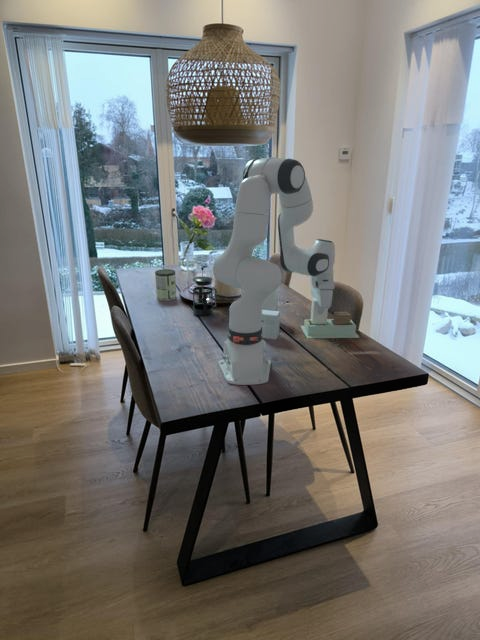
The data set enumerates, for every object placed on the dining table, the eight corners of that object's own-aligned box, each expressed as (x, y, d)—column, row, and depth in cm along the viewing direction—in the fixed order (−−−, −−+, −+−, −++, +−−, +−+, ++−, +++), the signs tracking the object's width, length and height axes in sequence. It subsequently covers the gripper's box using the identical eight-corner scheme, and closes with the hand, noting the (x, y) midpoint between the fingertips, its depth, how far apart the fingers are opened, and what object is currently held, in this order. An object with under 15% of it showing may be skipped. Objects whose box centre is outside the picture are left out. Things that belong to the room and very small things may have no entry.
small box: (279, 334, 183) (280, 311, 179) (276, 339, 178) (277, 315, 174) (260, 332, 185) (261, 309, 181) (257, 337, 180) (258, 313, 176)
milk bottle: (275, 324, 194) (277, 281, 187) (258, 323, 195) (259, 279, 189) (277, 318, 201) (279, 276, 194) (260, 317, 203) (262, 275, 196)
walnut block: (349, 332, 183) (351, 315, 180) (335, 333, 183) (336, 315, 180) (346, 329, 187) (348, 311, 184) (332, 329, 187) (334, 311, 184)
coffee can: (160, 294, 234) (158, 268, 229) (178, 295, 233) (177, 269, 228) (153, 300, 225) (152, 273, 220) (173, 301, 223) (172, 274, 218)
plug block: (326, 323, 181) (328, 300, 178) (312, 323, 181) (314, 300, 177) (324, 320, 185) (326, 297, 181) (310, 320, 185) (312, 297, 181)
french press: (194, 317, 201) (193, 268, 193) (189, 311, 209) (188, 264, 201) (218, 315, 204) (218, 267, 196) (213, 309, 213) (213, 262, 205)
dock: (359, 339, 179) (361, 327, 177) (306, 340, 178) (307, 328, 176) (349, 327, 192) (350, 315, 190) (300, 327, 191) (300, 316, 189)
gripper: (308, 273, 186) (306, 303, 191) (319, 286, 167) (317, 320, 172) (323, 272, 186) (320, 303, 191) (336, 286, 167) (333, 320, 172)
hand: (319, 311), depth 181 cm, fingers closed on plug block, 4 cm apart
